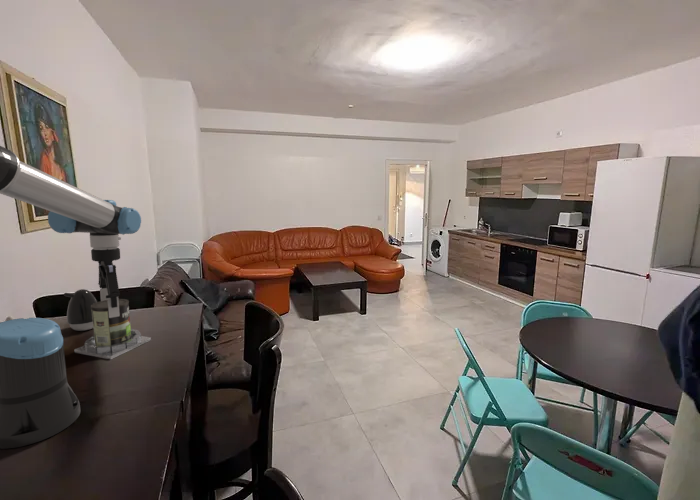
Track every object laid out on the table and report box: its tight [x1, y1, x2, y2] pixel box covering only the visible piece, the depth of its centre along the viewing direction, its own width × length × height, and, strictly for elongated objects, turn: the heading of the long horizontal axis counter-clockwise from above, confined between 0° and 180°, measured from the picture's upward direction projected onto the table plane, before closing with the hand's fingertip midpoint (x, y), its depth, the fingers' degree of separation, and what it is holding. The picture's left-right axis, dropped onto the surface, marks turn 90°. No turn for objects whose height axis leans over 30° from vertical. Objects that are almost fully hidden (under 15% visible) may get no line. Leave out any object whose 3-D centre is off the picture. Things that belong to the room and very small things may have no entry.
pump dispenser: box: [63, 288, 98, 332], centre depth 127 cm, size 10×10×15 cm
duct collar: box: [74, 328, 152, 360], centre depth 114 cm, size 15×15×3 cm
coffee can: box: [91, 298, 132, 346], centre depth 112 cm, size 10×10×14 cm
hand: (110, 311), depth 111 cm, fingers open, 13 cm apart
